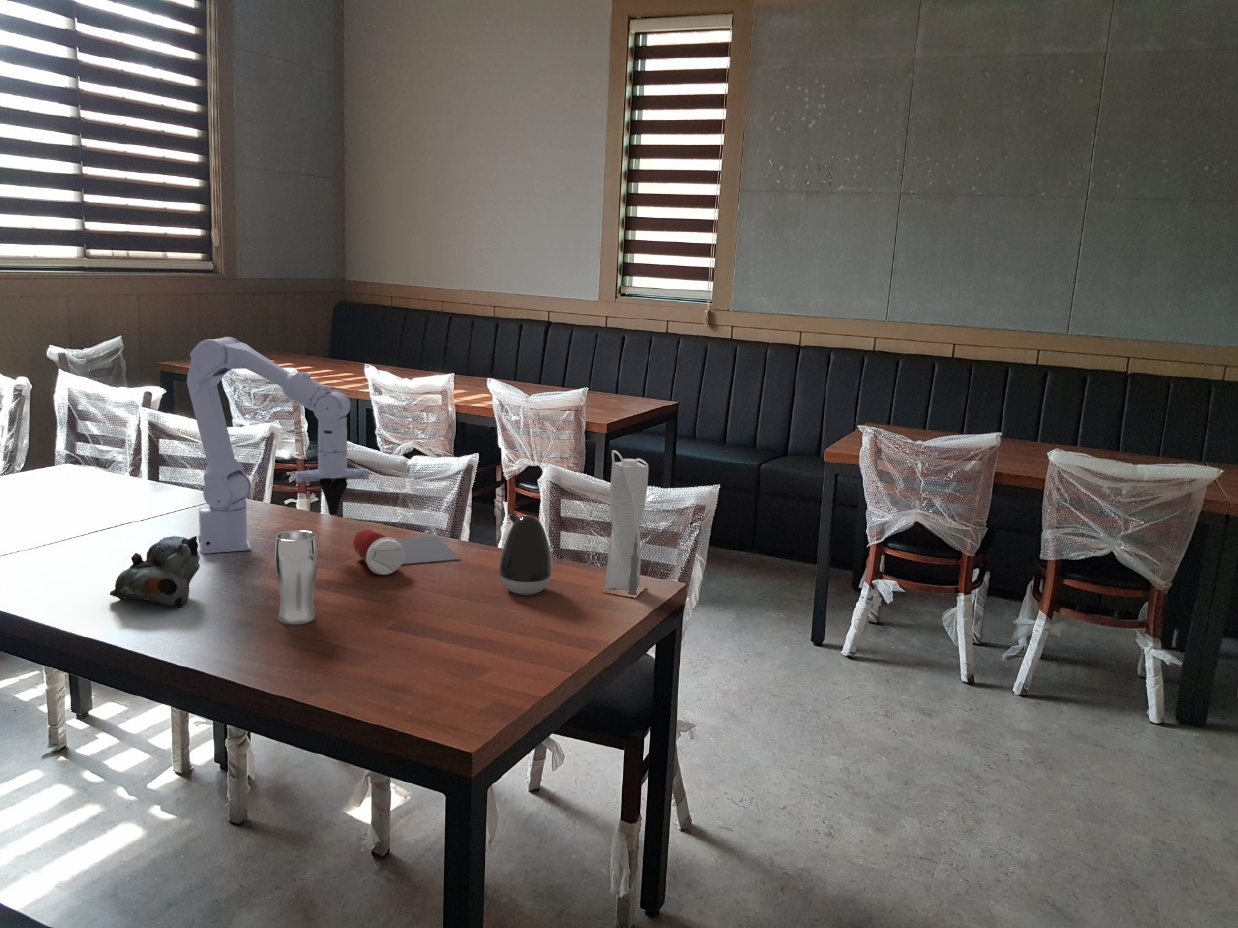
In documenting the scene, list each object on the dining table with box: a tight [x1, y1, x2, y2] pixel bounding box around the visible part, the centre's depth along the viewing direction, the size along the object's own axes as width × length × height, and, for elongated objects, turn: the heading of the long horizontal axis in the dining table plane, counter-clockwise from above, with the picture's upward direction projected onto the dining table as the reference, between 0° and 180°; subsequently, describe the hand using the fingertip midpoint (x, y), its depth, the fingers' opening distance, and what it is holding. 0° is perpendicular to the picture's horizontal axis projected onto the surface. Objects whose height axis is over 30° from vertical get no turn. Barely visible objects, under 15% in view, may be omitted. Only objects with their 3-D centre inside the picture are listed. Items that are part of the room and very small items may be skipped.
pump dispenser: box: [498, 513, 553, 596], centre depth 183 cm, size 10×10×15 cm
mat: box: [395, 535, 462, 566], centre depth 205 cm, size 18×18×1 cm
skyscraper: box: [601, 449, 649, 595], centre depth 186 cm, size 8×8×28 cm
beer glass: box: [274, 529, 319, 626], centre depth 162 cm, size 7×7×15 cm
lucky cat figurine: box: [109, 535, 201, 609], centre depth 167 cm, size 15×12×14 cm
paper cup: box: [352, 528, 405, 576], centre depth 193 cm, size 8×8×14 cm
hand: (332, 513), depth 198 cm, fingers closed
